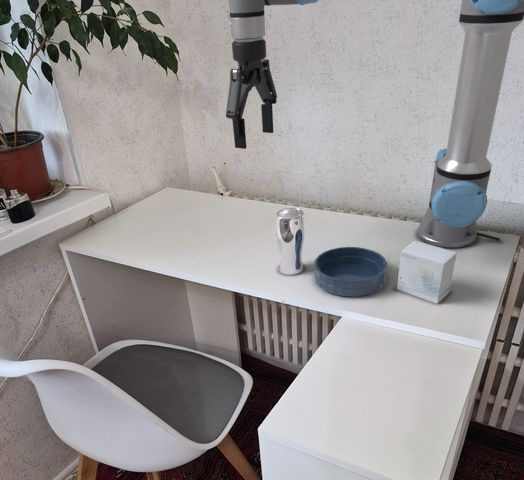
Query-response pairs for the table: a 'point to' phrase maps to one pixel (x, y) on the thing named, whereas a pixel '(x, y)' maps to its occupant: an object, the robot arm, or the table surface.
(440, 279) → the cosmetics box
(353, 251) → the bowl
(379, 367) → the table surface
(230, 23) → the robot arm
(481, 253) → the table surface
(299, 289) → the table surface
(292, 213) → the beer glass
